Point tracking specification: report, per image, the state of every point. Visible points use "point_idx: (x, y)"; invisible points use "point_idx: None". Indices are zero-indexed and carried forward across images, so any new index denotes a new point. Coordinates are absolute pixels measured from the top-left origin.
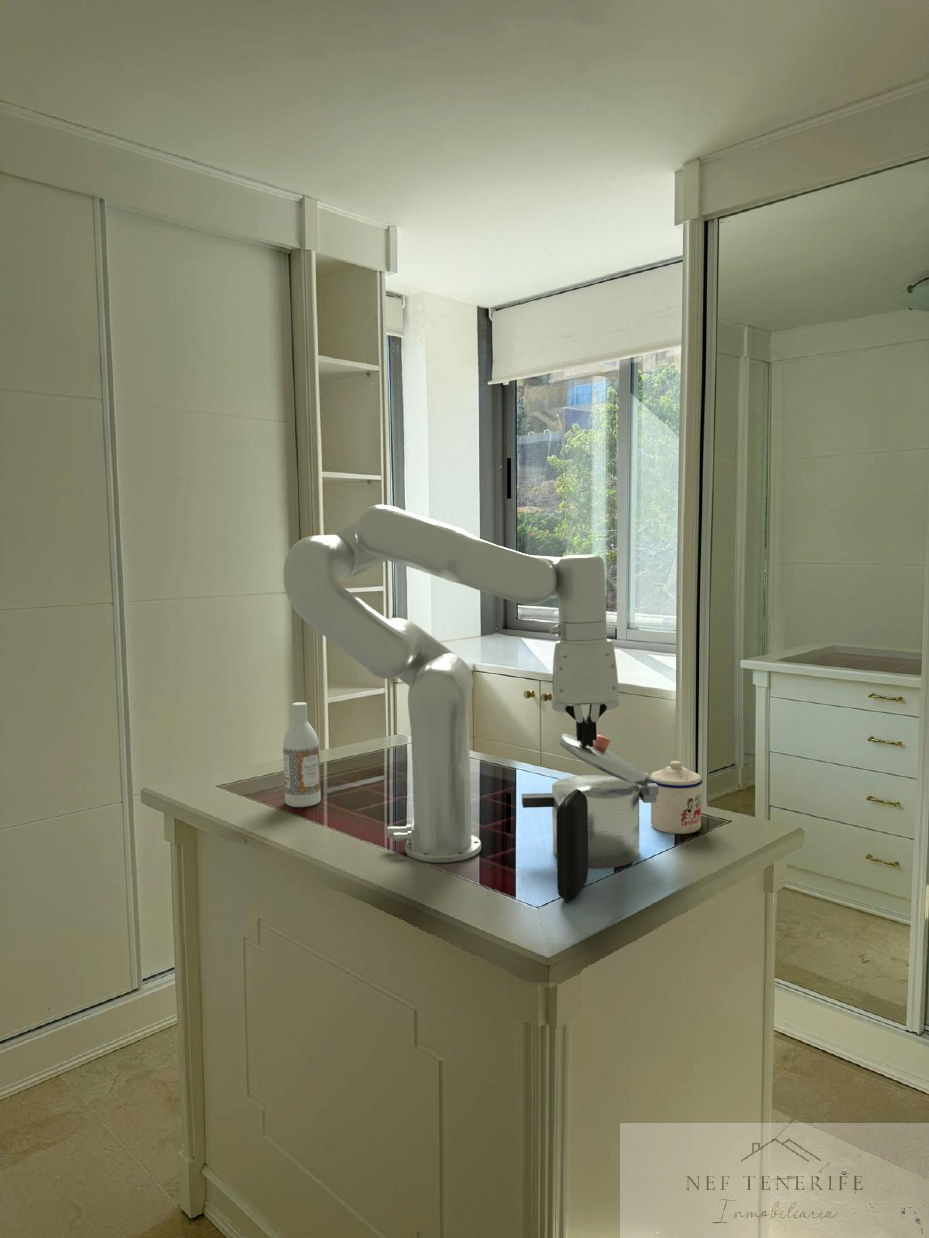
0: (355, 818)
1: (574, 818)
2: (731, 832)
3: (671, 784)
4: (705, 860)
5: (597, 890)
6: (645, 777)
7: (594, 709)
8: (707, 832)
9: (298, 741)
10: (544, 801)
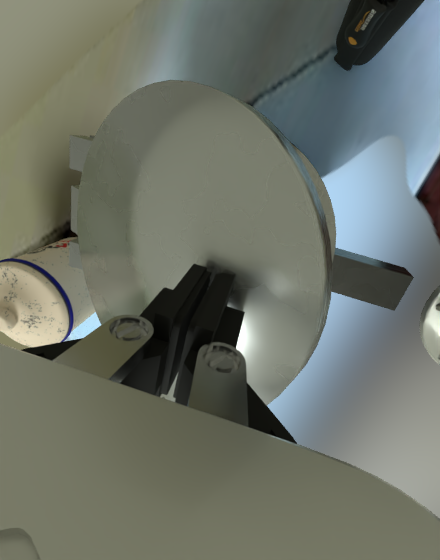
0: None
1: None
2: (18, 219)
3: (40, 274)
4: (85, 113)
5: (329, 10)
6: (85, 164)
7: (95, 367)
8: (49, 232)
9: None
10: (354, 256)
